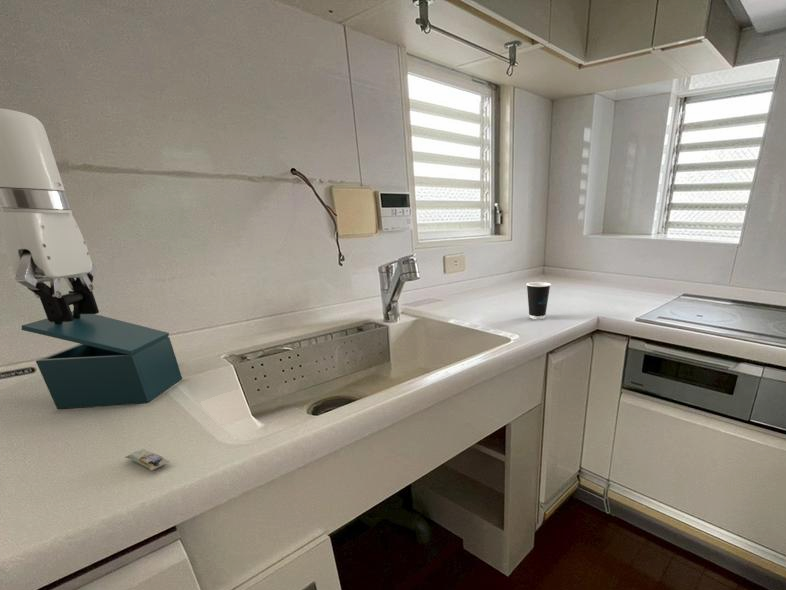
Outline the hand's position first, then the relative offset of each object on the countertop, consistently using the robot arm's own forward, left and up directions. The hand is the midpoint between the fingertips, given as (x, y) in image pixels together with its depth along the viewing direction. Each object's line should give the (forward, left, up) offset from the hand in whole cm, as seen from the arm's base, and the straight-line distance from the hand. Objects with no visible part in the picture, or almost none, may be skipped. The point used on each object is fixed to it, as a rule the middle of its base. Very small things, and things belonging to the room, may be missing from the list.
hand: (75, 316), depth 69 cm
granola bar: (+21, -27, -15) cm, 37 cm away
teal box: (+3, 0, -15) cm, 15 cm away
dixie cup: (+96, +44, -15) cm, 107 cm away
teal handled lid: (+3, 0, -3) cm, 4 cm away
